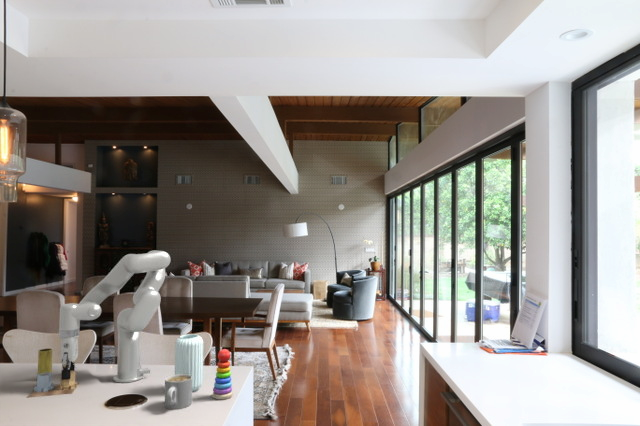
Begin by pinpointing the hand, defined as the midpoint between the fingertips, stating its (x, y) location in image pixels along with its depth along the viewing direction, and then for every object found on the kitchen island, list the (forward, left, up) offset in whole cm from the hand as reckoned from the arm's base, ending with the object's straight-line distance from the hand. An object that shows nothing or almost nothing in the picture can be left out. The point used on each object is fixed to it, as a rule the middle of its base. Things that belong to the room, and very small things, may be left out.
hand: (68, 376), depth 187 cm
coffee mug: (-43, +31, -6) cm, 54 cm away
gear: (+9, 0, -4) cm, 10 cm away
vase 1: (+13, -15, -6) cm, 20 cm away
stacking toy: (-61, +26, -6) cm, 67 cm away
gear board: (+5, +2, -6) cm, 8 cm away
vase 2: (-48, +13, -6) cm, 51 cm away
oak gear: (0, 0, -4) cm, 4 cm away
